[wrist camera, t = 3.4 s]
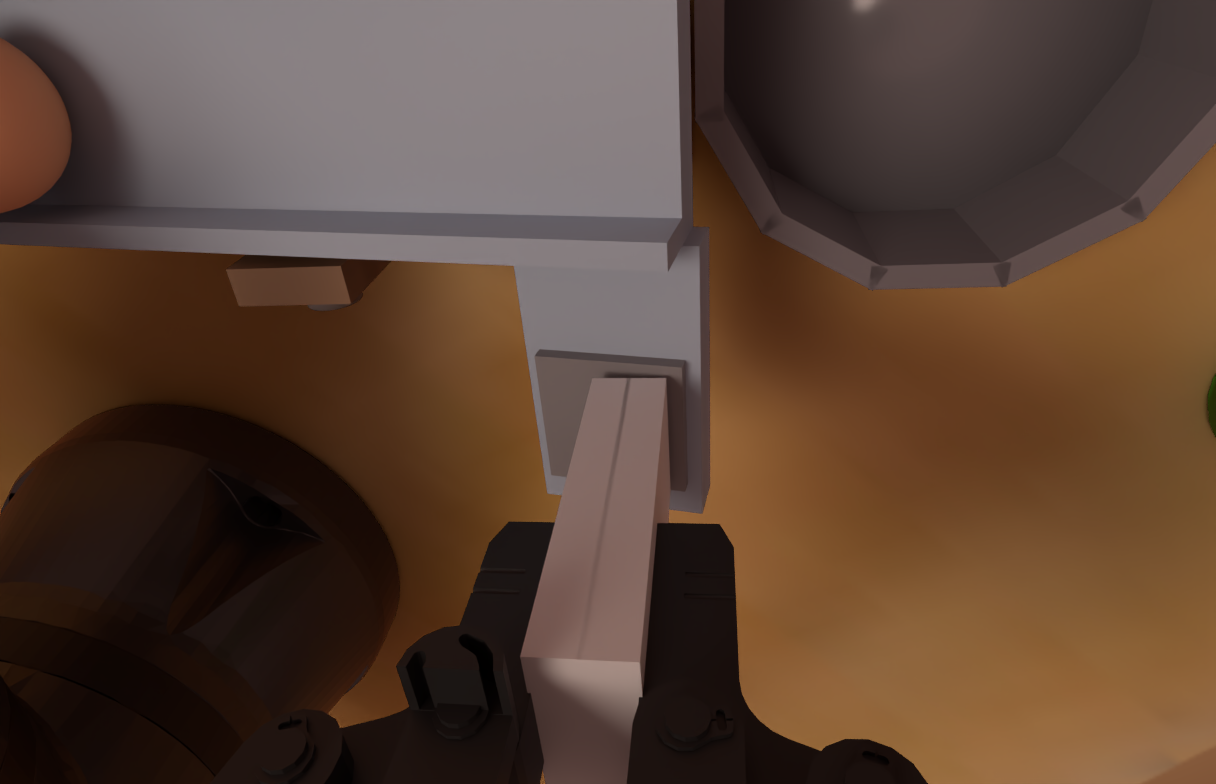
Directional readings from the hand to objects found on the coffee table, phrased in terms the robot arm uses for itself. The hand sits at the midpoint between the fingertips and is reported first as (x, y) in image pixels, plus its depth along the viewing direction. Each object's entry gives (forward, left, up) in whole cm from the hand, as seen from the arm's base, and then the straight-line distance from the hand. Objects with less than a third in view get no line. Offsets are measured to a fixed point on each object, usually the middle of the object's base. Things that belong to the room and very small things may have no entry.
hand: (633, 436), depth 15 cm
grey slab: (-7, +3, -3) cm, 8 cm away
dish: (+7, +7, -9) cm, 13 cm away
